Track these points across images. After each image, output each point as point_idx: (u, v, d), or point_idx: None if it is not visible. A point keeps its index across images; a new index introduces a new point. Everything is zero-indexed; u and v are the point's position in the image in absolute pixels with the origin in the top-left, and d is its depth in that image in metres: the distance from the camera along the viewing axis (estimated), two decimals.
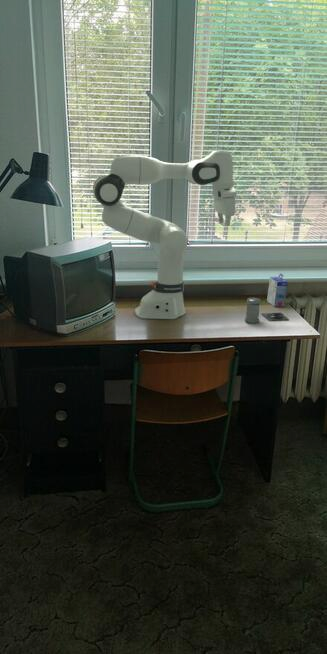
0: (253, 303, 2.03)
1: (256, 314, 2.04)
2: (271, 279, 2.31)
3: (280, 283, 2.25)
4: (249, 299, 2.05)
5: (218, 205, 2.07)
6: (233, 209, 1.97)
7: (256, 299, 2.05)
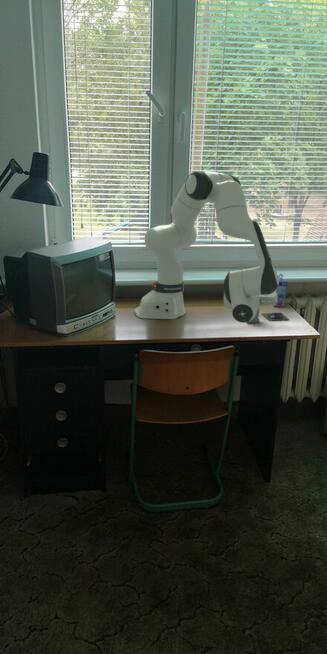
0: None
1: (256, 314, 2.04)
2: None
3: (280, 283, 2.25)
4: None
5: None
6: None
7: None
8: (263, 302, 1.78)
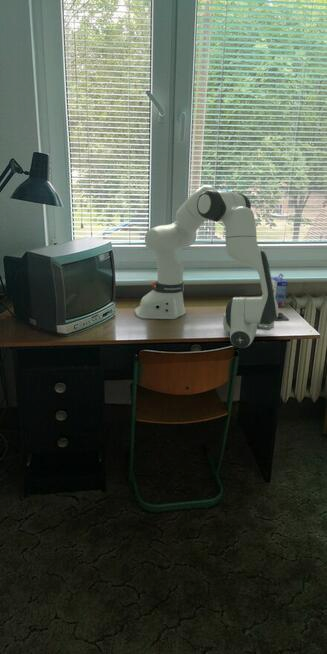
0: None
1: None
2: None
3: (280, 283, 2.25)
4: None
5: None
6: None
7: None
8: (260, 327, 1.86)
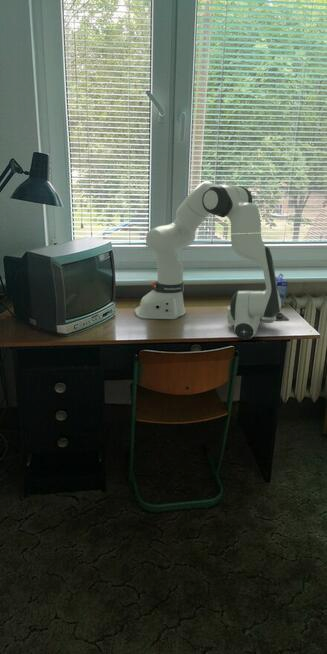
0: None
1: None
2: None
3: (280, 283, 2.25)
4: None
5: None
6: None
7: None
8: (263, 320, 1.94)
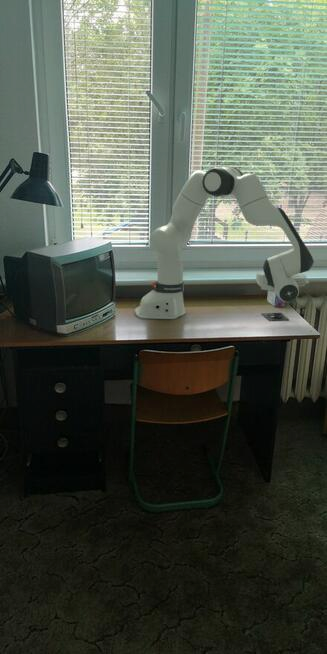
0: None
1: None
2: None
3: None
4: None
5: None
6: (256, 280, 2.03)
7: None
8: (297, 283, 1.95)
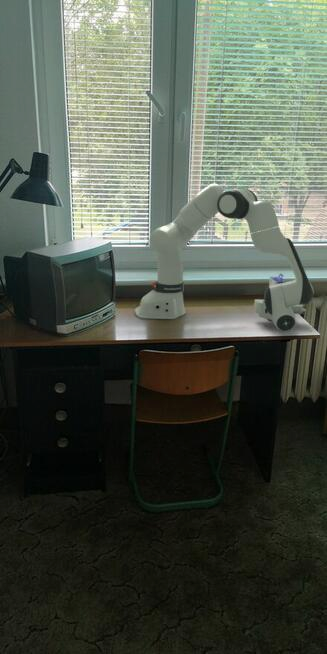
0: None
1: None
2: (271, 279, 2.31)
3: None
4: None
5: None
6: (254, 307, 2.07)
7: None
8: (294, 311, 1.99)
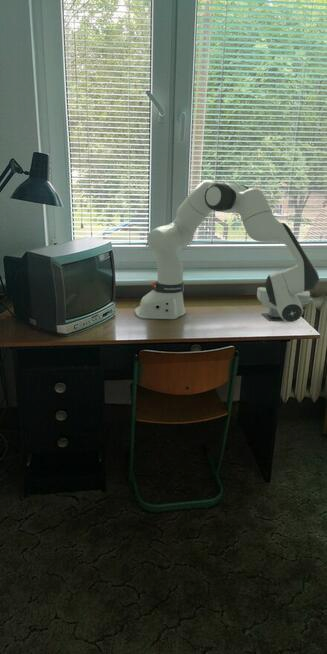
0: None
1: None
2: None
3: None
4: None
5: None
6: (257, 296, 1.92)
7: None
8: (300, 300, 1.84)
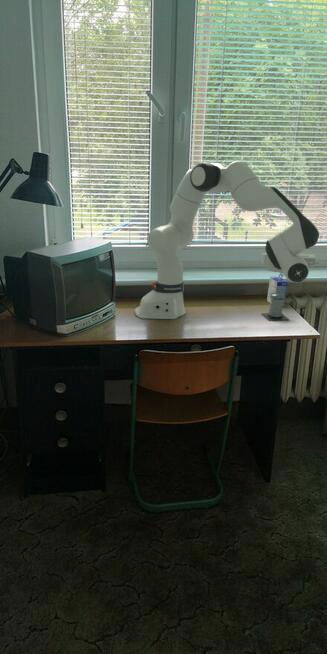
0: (278, 298, 2.08)
1: (281, 308, 2.10)
2: (271, 279, 2.31)
3: (280, 283, 2.25)
4: (273, 294, 2.10)
5: None
6: (261, 261, 1.87)
7: (279, 294, 2.11)
8: (306, 263, 1.79)
